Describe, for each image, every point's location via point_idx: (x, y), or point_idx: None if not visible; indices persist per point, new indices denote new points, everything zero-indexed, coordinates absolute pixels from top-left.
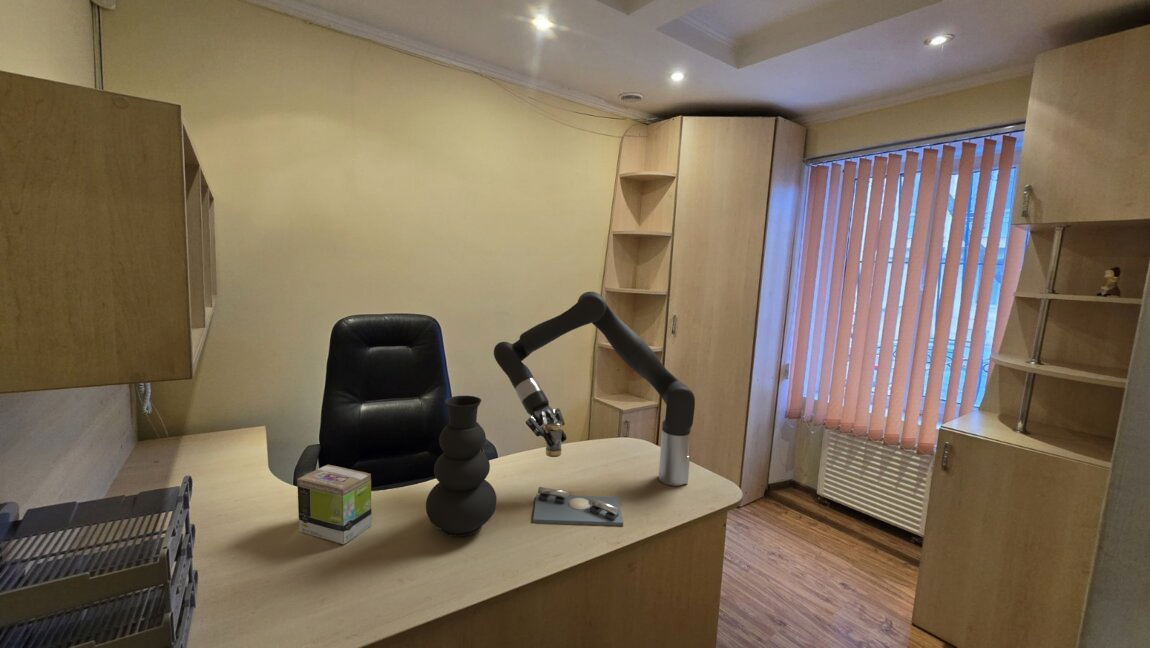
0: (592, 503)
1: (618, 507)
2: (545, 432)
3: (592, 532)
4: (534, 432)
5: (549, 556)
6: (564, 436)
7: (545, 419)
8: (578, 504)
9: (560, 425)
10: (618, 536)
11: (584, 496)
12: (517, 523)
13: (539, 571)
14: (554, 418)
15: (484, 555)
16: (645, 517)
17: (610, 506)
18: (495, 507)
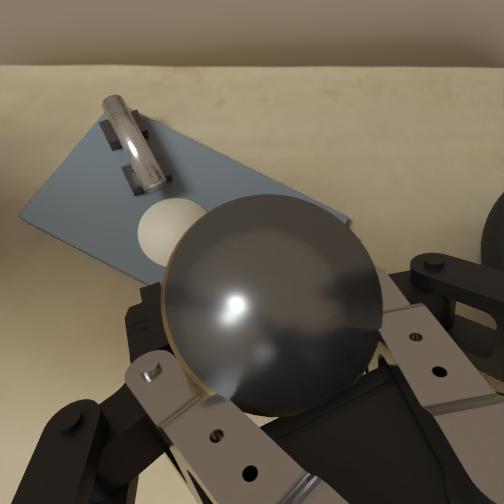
0: (159, 167)
1: (68, 164)
2: (379, 273)
3: (212, 121)
4: (480, 328)
5: (347, 96)
6: (156, 293)
7: (418, 367)
8: (183, 226)
9: (233, 200)
10: (159, 82)
11: (129, 269)
12: (386, 236)
13: (381, 70)
14: (224, 427)
15: (480, 156)
16: (24, 111)
17: (124, 113)
18: (497, 206)
